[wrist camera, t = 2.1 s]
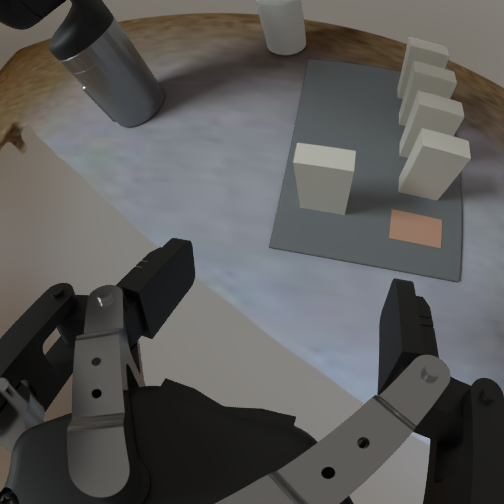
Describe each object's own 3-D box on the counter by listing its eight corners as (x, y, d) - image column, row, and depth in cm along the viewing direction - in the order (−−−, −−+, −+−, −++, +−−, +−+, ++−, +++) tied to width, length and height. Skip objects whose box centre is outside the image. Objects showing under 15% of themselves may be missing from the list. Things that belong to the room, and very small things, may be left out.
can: (260, 51, 42) (243, -6, 30) (279, 32, 42) (268, -23, 31) (294, 60, 40) (284, -1, 28) (313, 40, 40) (307, -17, 29)
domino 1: (300, 207, 34) (293, 162, 24) (303, 191, 34) (297, 142, 24) (344, 214, 32) (354, 171, 23) (346, 198, 33) (355, 151, 23)
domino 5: (398, 192, 32) (422, 145, 22) (399, 177, 32) (421, 127, 23) (436, 200, 30) (470, 158, 21) (436, 185, 31) (468, 141, 21)
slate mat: (269, 247, 34) (268, 246, 33) (308, 61, 39) (308, 58, 39) (457, 282, 28) (459, 281, 28) (446, 86, 34) (447, 83, 33)
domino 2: (397, 97, 34) (410, 45, 25) (397, 88, 35) (408, 36, 25) (430, 105, 33) (449, 56, 24) (429, 96, 34) (446, 46, 24)
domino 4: (399, 156, 33) (419, 104, 23) (399, 142, 33) (417, 90, 23) (436, 164, 31) (464, 117, 22) (435, 151, 32) (461, 102, 22)
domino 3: (399, 124, 34) (415, 71, 24) (398, 113, 34) (413, 60, 24) (433, 132, 32) (456, 83, 23) (432, 121, 33) (453, 71, 23)
